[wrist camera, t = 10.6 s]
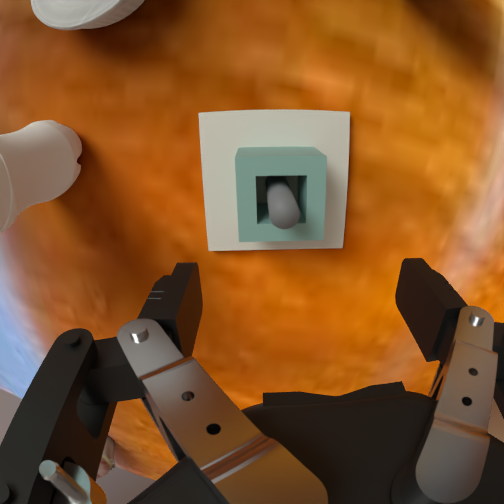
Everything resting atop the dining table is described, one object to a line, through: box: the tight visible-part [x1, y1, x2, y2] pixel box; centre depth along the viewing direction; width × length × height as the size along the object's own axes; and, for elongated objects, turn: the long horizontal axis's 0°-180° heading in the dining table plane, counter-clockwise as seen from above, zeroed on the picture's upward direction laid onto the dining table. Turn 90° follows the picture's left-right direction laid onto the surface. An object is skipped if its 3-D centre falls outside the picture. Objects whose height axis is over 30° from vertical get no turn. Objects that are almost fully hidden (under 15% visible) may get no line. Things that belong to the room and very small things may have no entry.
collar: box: [235, 146, 327, 242], centre depth 24 cm, size 6×6×5 cm
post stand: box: [199, 110, 350, 251], centre depth 23 cm, size 12×12×9 cm
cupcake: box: [96, 436, 115, 479], centre depth 42 cm, size 9×9×10 cm
